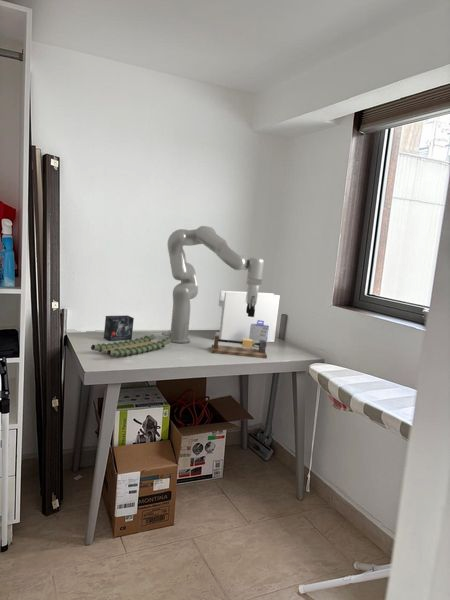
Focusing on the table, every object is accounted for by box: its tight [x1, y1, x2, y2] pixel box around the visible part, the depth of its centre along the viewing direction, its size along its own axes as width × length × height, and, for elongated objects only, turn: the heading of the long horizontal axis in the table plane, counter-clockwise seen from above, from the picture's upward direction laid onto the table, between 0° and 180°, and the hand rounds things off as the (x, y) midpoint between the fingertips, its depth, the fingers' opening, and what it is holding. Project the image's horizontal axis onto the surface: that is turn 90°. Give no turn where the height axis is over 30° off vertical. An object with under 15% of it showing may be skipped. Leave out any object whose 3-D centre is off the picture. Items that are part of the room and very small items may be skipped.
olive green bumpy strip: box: [90, 334, 171, 358], centre depth 222 cm, size 41×14×5 cm, turn 146°
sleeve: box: [241, 339, 253, 348], centre depth 240 cm, size 5×4×4 cm
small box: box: [103, 314, 135, 342], centre depth 241 cm, size 13×7×12 cm, turn 131°
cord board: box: [211, 335, 268, 359], centre depth 240 cm, size 28×12×8 cm, turn 92°
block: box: [214, 289, 281, 343], centre depth 271 cm, size 35×8×28 cm, turn 114°
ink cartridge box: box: [249, 320, 269, 348], centre depth 259 cm, size 10×6×14 cm, turn 78°
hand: (249, 314), depth 239 cm, fingers open, 9 cm apart
